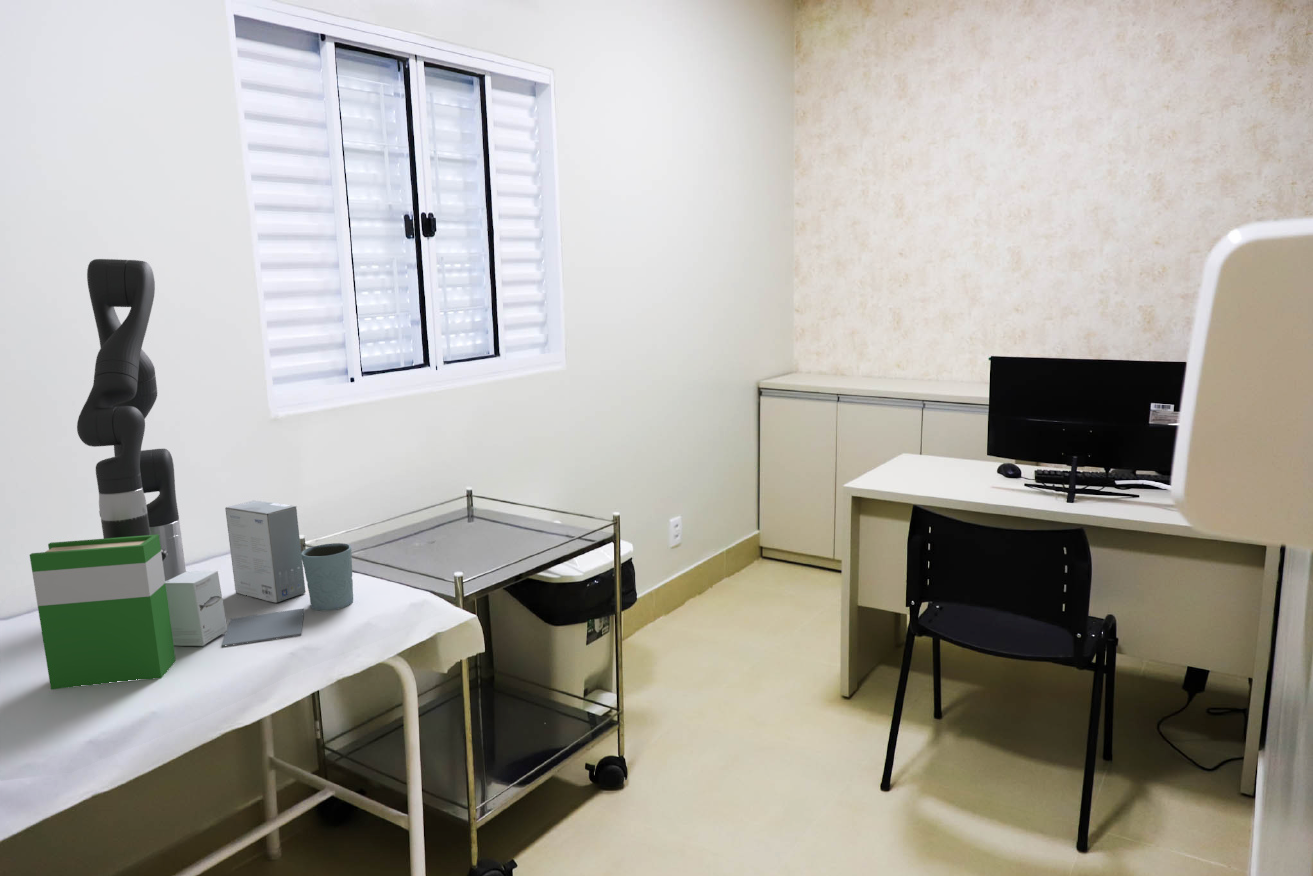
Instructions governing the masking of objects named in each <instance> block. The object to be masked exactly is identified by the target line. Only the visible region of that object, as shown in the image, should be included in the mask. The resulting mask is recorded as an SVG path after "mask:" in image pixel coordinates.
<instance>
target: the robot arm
mask: <svg viewBox="0 0 1313 876" xmlns="http://www.w3.org/2000/svg"><path fill="white" fill-rule="evenodd" d="M86 270H87V271H86V277H87V278H86V279H87V280H86V281H87V287H88V293H89V299H90V302H91V307H92V312H93V316H94V319H95V325H96V328H97V335H98V340H99V346H100V349H99V350H98V353H97V355H96V360H95V364H94V365H95V366H94V367H95V368H94V375H93V376H94V377H93V385H92V388H91V390H90V392H89V394H88V396H87V399H86V401H85V403H84V405H83V406H82V409H81V410H80V414H79V415H78V418H77V423H76V431H77V434H78V435H77V436H78V438H79V439H80V441H81V442H82V443H83V444H84V445H86V446H89V447H93V448H94V447H109V446H111V447H112V446H113V451H114V454H113V455H114V456H112V457H109V458H105V459H102V460H100V461H98V462H97V463H96V465H95V477H96V483H97V491H98V508H99V511H98V513H99V517H100V522H101V529H102V535H103V539H105V538H118V537H131V536H145V535H158V534H159V539H160V546H161V554H162V561H163V569H164V576H165V582H166V581H168V580H170V579H172V578H174V577H176V576H178V575H180V574H182V573H184V572H187V570H186V569H187V568H186V562H185V561H186V560H185V552H184V545H183V538H182V531H181V523H180V515H179V509H178V503H177V494H176V482H175V479H176V478H175V468H174V467H175V465H174V461H173V457H172V454H171V452H170V450H168V449H167V448H155V449H152V448H151V449H143V450H142V445H143V440H144V436H145V429H146V422H145V421H146V420H145V419H147V416H148V415H149V413H150V412H151V411H152V408H153V407H154V405H155V403H156V401H157V398H158V387H157V386H158V385H157V378H156V370H155V368H156V367H155V365H154V363H153V362H152V359H151V358H150V357H149V356H148V354H147V353H146V352H145V351H144V350H143V349H142V347H143V344H144V339H145V336H146V334H147V329H148V325H149V321H150V316H151V313H152V309H153V304H154V298H155V290H156V285H155V284H156V283H155V282H156V281H155V275H154V271H153V268H152V267H151V265H150V264H149V262H147V261H145V260H137V259H118V258H116V259H115V258H114V259H112V258H95V259H93V260H91V261H90V262H89V264H87V269H86ZM115 308H130V310H129V312H128V314H127V317H126V318H124V321H123V322H122V323H121V321H120V319H119V317H118V315H117V312H116V309H115ZM155 492H159V494H158V495H157V497H156V498H154V499H153V500H152V501H151V502H148V503H147V500H146V496H145V494H148V493H155Z"/></svg>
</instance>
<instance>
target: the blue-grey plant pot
mask: <svg viewBox="0 0 1313 876" xmlns="http://www.w3.org/2000/svg"><path fill="white" fill-rule="evenodd" d="M352 555H353V554H352V545H351V544H349V543H340V542H338V543H334V542H333V543H325V544H319V545H314V546H310V547H308V548H305V549H304V550H301V556H302V564H303V571H304V575H305V580H306V583H307V589H308V590H307V591H308V595H309V602H310V606H311V609H312V610H316V611H321V610H325V611H327V610H328V611H334V610H339V609H338V608H340V609H343V608H346V607H349V606H350V605H351V604H353V602H354V587H353V586H354V585H353V584H354V582H353V563H352V562H353V560H352V559H353V558H352ZM349 604H350V605H349Z"/></svg>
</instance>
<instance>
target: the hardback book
mask: <svg viewBox="0 0 1313 876" xmlns="http://www.w3.org/2000/svg"><path fill="white" fill-rule="evenodd" d="M47 546H48V550H46V551H44V552H43V551H42V552H32V553H30V554H29V560H30V567H31V572H32V579H33V586H34V592H35V597H36V604H37V610H38V611H37V612H38V618H39V624H40V628H41V629H40V630H41V635H42V642H43V649H44V654H45V659H46V668H47V674H48V681H49V686H50V689H51V690H57V689H65V688H66V689H67V688H68V687H69V688H74V687H73V686H79V687H82V686H81V685H89V686H94V685H93V684H99V685H102V684H101V683H109V682H117V681H128V680H136V679H137V680H138V679H149V680H154V679H153V678H159V679H162V678H164V676H165V675H164V674H166V673H168V671H169V670H170V669H171V668H172V666H173V665H174V664H175V663H176V662H175V661H177V660H176V651H175V645H174V644H173V636H172V629H171V621H170V614H169V606H168V599H167V591H166V584H165V576H164V569H163V561H162V554H161V546H160V539H159V534H158V535H145V536H131V537H118V538H105V539H104V538H92V539H83V540H70V541H69V540H68V541H55V542H53V541H52V542H49V543H48V544H47ZM174 662H175V663H174ZM173 663H174V664H173ZM169 668H170V669H169ZM167 670H168V671H167ZM109 684H110V683H109Z"/></svg>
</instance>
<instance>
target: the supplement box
mask: <svg viewBox="0 0 1313 876" xmlns="http://www.w3.org/2000/svg"><path fill="white" fill-rule="evenodd" d="M165 584H166V591H167V599H168V606H169V614H170V621H171V629H172V636H173V644H174V646H179V647H180V646H182V647H183V646H184V647H204V646H205V645H207V644H208V643H209V642H211V641H213V640H215V639H216V638H218V637H219V636H221V635H223V634H226V632H227V628H228V625H227V624H228V623H227V618H226V612H225V607H224V601H223V594H222V588H221V583H220V576H219V571H218V570H192V571H190V570H189V571H188V570H186V572H184V573H182V574H180V575H178V576H176V577H174V578H172V579H170V580H168V581H166V582H165Z"/></svg>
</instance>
